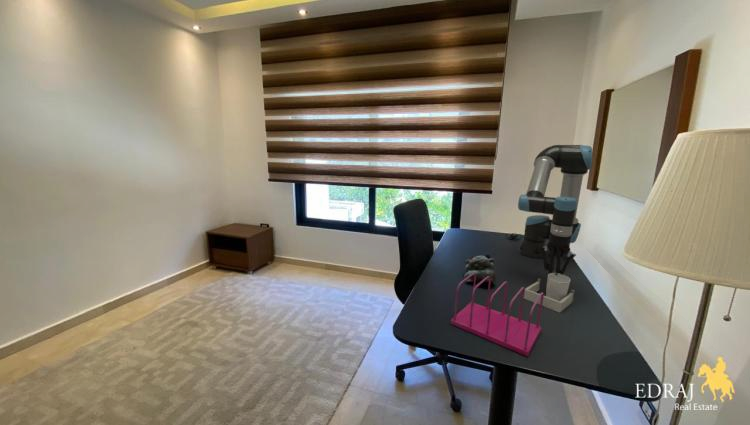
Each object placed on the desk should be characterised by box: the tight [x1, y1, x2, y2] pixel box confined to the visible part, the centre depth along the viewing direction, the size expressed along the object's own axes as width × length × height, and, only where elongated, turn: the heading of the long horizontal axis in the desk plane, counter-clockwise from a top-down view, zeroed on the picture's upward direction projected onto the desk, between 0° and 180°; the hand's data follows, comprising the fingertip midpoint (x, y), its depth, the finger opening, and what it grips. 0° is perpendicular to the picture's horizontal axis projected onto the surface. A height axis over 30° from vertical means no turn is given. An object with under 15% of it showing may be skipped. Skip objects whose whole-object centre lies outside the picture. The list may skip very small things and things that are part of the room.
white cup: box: [545, 273, 571, 301], centre depth 122 cm, size 8×8×10 cm
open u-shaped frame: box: [524, 278, 576, 313], centre depth 122 cm, size 14×14×5 cm
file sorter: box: [450, 273, 545, 357], centre depth 101 cm, size 17×25×16 cm
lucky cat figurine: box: [463, 254, 497, 283], centre depth 138 cm, size 15×12×14 cm
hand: (552, 286), depth 127 cm, fingers closed
